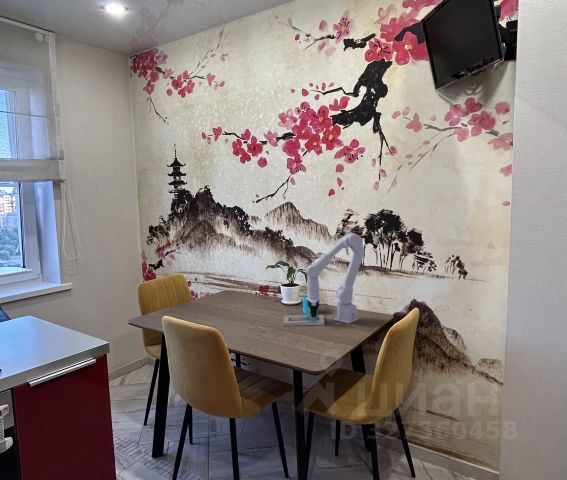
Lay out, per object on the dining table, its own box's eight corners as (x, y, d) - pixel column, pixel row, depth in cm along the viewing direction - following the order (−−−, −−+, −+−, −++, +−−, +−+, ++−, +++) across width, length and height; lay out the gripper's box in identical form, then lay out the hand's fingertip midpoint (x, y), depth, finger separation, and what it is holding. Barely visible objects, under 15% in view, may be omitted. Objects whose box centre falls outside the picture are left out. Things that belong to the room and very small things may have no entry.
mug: (312, 315, 211) (312, 300, 210) (300, 312, 216) (299, 297, 215) (325, 309, 220) (324, 295, 219) (313, 307, 225) (312, 293, 224)
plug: (316, 319, 202) (316, 306, 201) (317, 321, 198) (316, 308, 197) (308, 319, 202) (308, 306, 201) (309, 322, 198) (308, 308, 197)
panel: (323, 317, 205) (323, 315, 205) (324, 325, 195) (324, 322, 194) (284, 318, 206) (284, 315, 206) (283, 325, 196) (283, 322, 195)
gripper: (304, 285, 206) (305, 311, 207) (305, 293, 191) (305, 320, 193) (318, 285, 205) (319, 311, 207) (319, 292, 191) (320, 320, 192)
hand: (313, 315), depth 200 cm, fingers closed on plug, 4 cm apart
